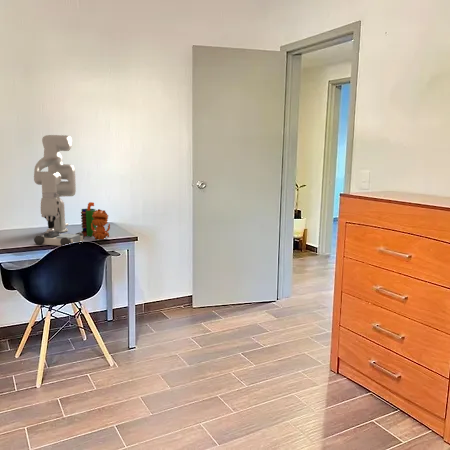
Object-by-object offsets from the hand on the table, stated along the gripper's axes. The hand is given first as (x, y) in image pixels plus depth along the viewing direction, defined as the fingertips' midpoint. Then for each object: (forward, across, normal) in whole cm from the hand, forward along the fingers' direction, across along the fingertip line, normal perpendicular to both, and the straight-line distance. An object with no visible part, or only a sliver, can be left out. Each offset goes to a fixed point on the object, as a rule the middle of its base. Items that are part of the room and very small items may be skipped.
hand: (51, 227), depth 250 cm
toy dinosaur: (+8, -21, -16) cm, 28 cm away
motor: (+9, -9, -24) cm, 28 cm away
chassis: (+8, -5, +1) cm, 10 cm away
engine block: (+7, 0, 0) cm, 7 cm away
